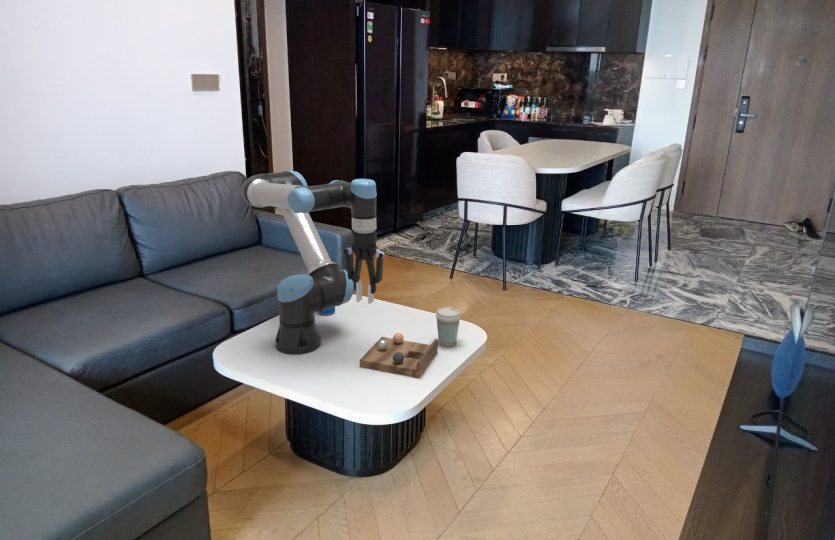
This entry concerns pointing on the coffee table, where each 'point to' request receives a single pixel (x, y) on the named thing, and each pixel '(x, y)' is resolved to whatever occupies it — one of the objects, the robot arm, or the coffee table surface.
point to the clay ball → (398, 338)
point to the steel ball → (382, 344)
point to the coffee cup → (447, 326)
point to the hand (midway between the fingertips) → (365, 301)
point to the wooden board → (408, 367)
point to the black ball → (398, 357)
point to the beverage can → (327, 311)
